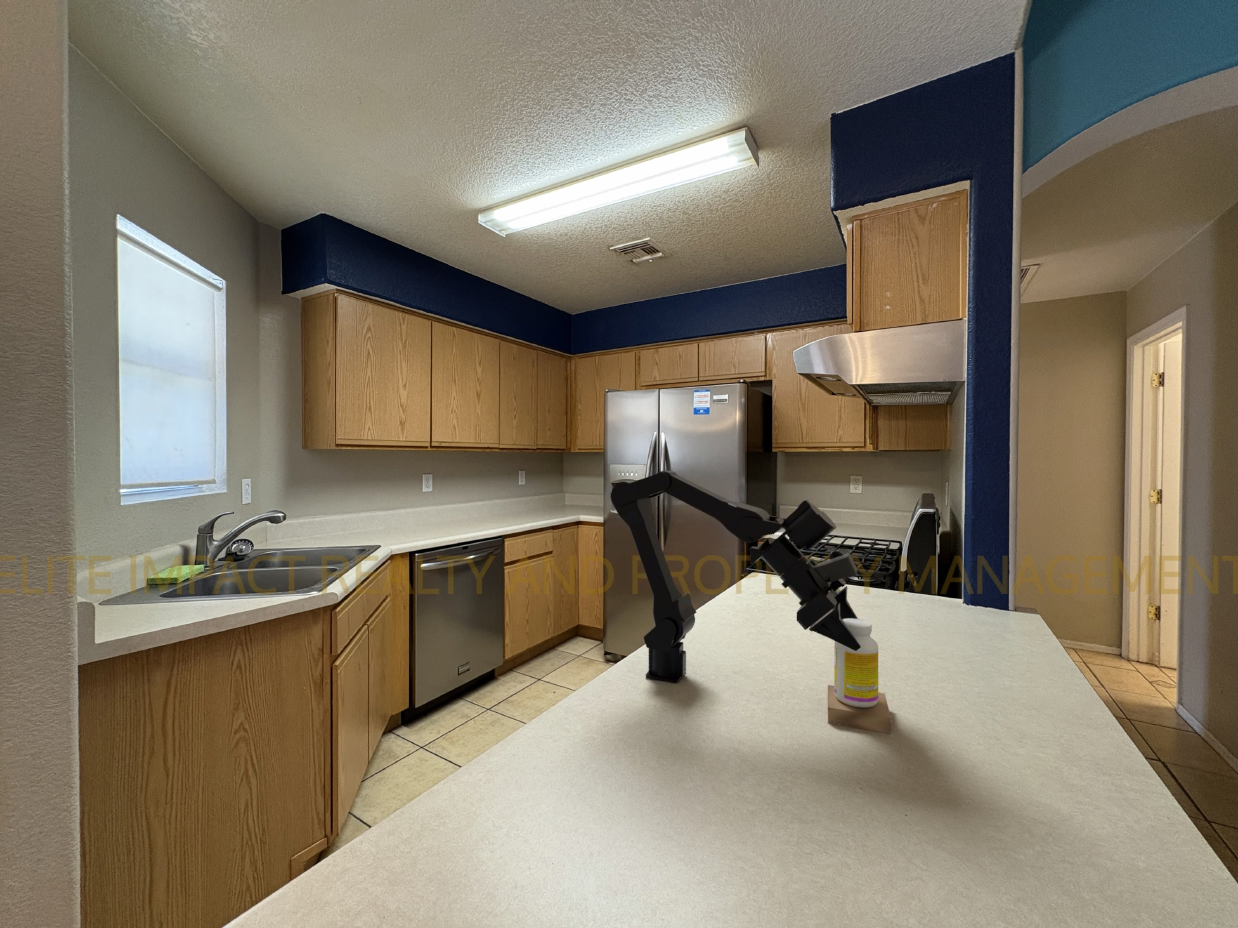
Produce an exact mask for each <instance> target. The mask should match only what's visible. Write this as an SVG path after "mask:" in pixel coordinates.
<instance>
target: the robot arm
mask: <svg viewBox="0 0 1238 928" xmlns="http://www.w3.org/2000/svg"><path fill="white" fill-rule="evenodd" d="M663 494H667V495H669V496H671V497H673V498H675V499H677V500H678V501H681V502H683V503H685V504H686V505H689V506H690V507H693V508H694V509H696V510H698V511H700V512H702V513H704V514H706V515H708V516H709V517H712V518H713V519H715V520H716V521H718V523H720V525H722V526H723V527H724V528H725V530H727V531H728V532H729V533H731V534H732V535H733V536H735V537H736V538H737V539H739V540H740V541H742V542H743V543H747V544H752V543H755V542H758V541H760V540H762V539H763V538H765V537H766V536H769V537H768V538H766V539H765V540H764V541H763V542H762V543H761V544H760V545H758V546H751V547H750V548H749V552H750V556H749V558H750V559H749V563H750V564H751V565H752V564H754V563H756V562H757V561H759V560H760V559H762V560H763V561H764V562H765V563H766V564H767V565H768V566H769V568H771V570H772V571H773V572H774V573H775V574H776V575H777V577H779V579H780V580H781V581H782V582H781V586H782V587H783V588H784V589H787V588H789V590H790V591H791V592H792V593H793V594H794V595H795V596H796V597H797V598H798V599H799V602H798V604H799V605H800V607H799V608H798V609H797V612H796V622H797V623H798V624H799V625H800V626H801V627H802V628H803V630H809V632H811V633H812V632H815V633H817V634H819V635H820V636H822V637H823V636H824V637H826V638H827V639H830V640H832V641H834V642H835V641H836V642H838V643H840V644H842V645H844V646H846V647H848V648H850V649H852V650H854V651H857V650H858V649H860V648H861V646H860V644H859V643H858V641H857V640H856V638H855V637H854V635H853V634H852V633H851V631H850V630H849V628H848V627H847V626H846V624H845V623H844V621H843V620H842V619H847V618H853V619H859V618H858V616H857V615H856V613H855V611H854V610H853V607H852V606H851V604H850V603H849V601H848V586H847V585H846V584H847V582H846V581H845V580H844V578H847V579H848V578H852V577H854V576H856V575H857V573H858V572H859V569H858V568H857V566H856V563H855V561H854V558H853V556H852V555H851V553H849V552H847V553H845V552H843V551H842V550H841V549H840V548H839V549H836V550H833V551H830V553H829V559H825V561H822V562H819V563H818V562H817V561H816V560H815V559H813V558H809V559H808V558H807V557H806V556H805V555H804V554H803V553H802V551H800V550H799V549H802V550H803V549H804V548H807V549H809V550H813V548H815V547H816V546H817V545H818V544H819V543H821V542H822V541H824V539H826V538H827V537H828V536H829V535H830V534H831V533H832V532H834V530H836V529H837V526H836V524H835V523H834V521H833V520H832V519H831V518H830V517H829V516H828V515H827V514H826V513H825V512H824V511H823V510H821V509H819V508H818V507H817V506H815V505H814V504H812V503H811V502H810V501H809V500H808V499H805V500H802V502H801V503H799V505H798V506H797V508H796V509H795V510H794V511H792V512H791V513H790V514H789V515H788V516H787V517H786V518H785V517H782V516H780V517H779V516H773V515H770V514H769V512H767V511H766V510H765V509H762V508H760V507H757V506H754V505H750V504H747V503H742V502H737V501H733V500H730V499H727V498H726V497H723V496H721V495H720V494H717V493H716V492H713V491H711V490H709V489H707V488H705V487H703V486H701V485H699V484H697V483H695V482H693V481H691V480H689V479H686V478H685V477H682V476H681V475H679V474H677V473H676V472H675V471H673V470H663V471H662V470H661V471H659V472H657V473H655V474H653V475H650V476H647V477H643V478H639V479H637V480H626V481H620V482H617V483H616V484H614V486H613V487H612V490H611V492H610V496H609V497H610V501H611V504H612V505H613V508H614V509H615V512H616V513H617V515H618V517H619V518H620V519H621V520H622V521H623V522H624V523H625V524H626V525H627V526H628V528H629V531H630V533H631V536H632V539H633V542H634V544H635V547H636V550H637V553H638V556H639V559H640V561H641V562H640V563H641V565H642V568H643V570H644V573H645V576H646V579H647V582H648V585H649V587H650V590H651V593H652V597H653V600H652V601H653V602H652V606H653V607H652V614H653V617H652V618H653V620H654V627H653V628H651V630H650V631H648V633H646V634H645V635H644V636H643V641H644V644H645V646H646V648H647V649H648V671H647V672H646V674H645V678H646V679H653V680H659V681H664V682H670V683H679V681H680V680H681V678H683V676H684V675H685V673H686V671H687V651H686V650H685V649H684V642H683V641H682V640H684V639H685V638H686V635H687V634H689V632H690V631H691V630H692V629H693V628H694V626H695V624H696V617H695V614H697V611H696V609H695V608H694V606H693V603H692V598H691V595H690V593H688V592H687V593H686V594H684V595H683V594H682V593H681V592H680V591H679V590H678V589H677V587H676V585H675V582H674V579H673V576H672V573H671V570H670V568H669V566H668V562H667V559H666V557H665V553H664V552H663V548H662V546H661V543H660V540H659V536H658V535H657V532H656V529H655V526H654V523H653V519H652V514H653V513H652V512H653V503H652V499H653V498H656V497H658V496H661V495H663ZM783 529H784V530H785V531H783V532H782V533H781V534H780V535H779V536H777V537H776V538H775V539H774V538H773V537H770V535H771V536H773V535H774V534H776V533H778V532H780V531H782V530H783ZM796 546H797V547H796ZM840 588H841V589H840Z"/></svg>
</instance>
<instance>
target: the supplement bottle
mask: <svg viewBox="0 0 1238 928" xmlns="http://www.w3.org/2000/svg"><path fill="white" fill-rule="evenodd" d="M842 620H843V621H844V623H845V624H846V626H847V627H848V628H849V630H850V631H851V633H852V634H853V635H854V637H855V638H856V640H857V641H858V643H859V644H860V646H861V648H860V649H858V650H857V651H854V650H852V649H850V648H848V647H846V646H844V645H842V644H840V643H838V642H836V641H834V645H833V646H834V667H833V668H834V670H833V671H834V677H833V679H834V683H833V686H834V691H835V696H836V697H837V699H838V700H840V701H841V702H843V703H845V704H847V705H850V706H854V707H861V708H866V707H872V706H875V705H876V704H877V703H878V692H879V644H878V643H877V641H876V640H875V639H874V638H872V637H871V634H872V631H873V625H872V623H871V622H869V621H867V620H864V619H859V618H858V619H853V618H847V619H842Z"/></svg>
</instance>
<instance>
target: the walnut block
mask: <svg viewBox="0 0 1238 928" xmlns="http://www.w3.org/2000/svg"><path fill="white" fill-rule="evenodd" d="M827 723H828V724H834V725H839V726H844V727H849V728H856V729H861V730H862V729H863V730H867V731H874V732H879V733H884V734H889V735H890V734H892V717H891V713H890V709H889V705H888V701H887V697H886V693H885V692H879V691H878V703H877V704H876V705H875V706H872V707H866V708H861V707H854V706H850V705H847V704H845V703H843V702H841V701H840V700H838V699H837V697H836V696H835V691H834V685H831V684H827Z"/></svg>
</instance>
